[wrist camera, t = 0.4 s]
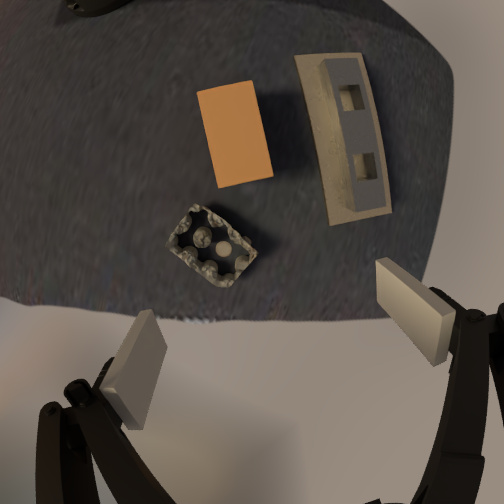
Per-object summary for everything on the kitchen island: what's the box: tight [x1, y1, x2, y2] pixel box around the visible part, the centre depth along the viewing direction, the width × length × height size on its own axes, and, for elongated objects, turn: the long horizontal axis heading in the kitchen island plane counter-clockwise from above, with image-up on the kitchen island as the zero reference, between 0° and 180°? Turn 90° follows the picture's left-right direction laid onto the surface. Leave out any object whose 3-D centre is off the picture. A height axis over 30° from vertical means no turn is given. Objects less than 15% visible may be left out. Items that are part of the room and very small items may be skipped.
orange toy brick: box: [197, 80, 273, 188], centre depth 32 cm, size 11×6×7 cm, turn 12°
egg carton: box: [165, 203, 259, 287], centre depth 38 cm, size 11×8×4 cm
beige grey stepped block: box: [293, 53, 392, 226], centre depth 34 cm, size 24×10×4 cm, turn 12°
